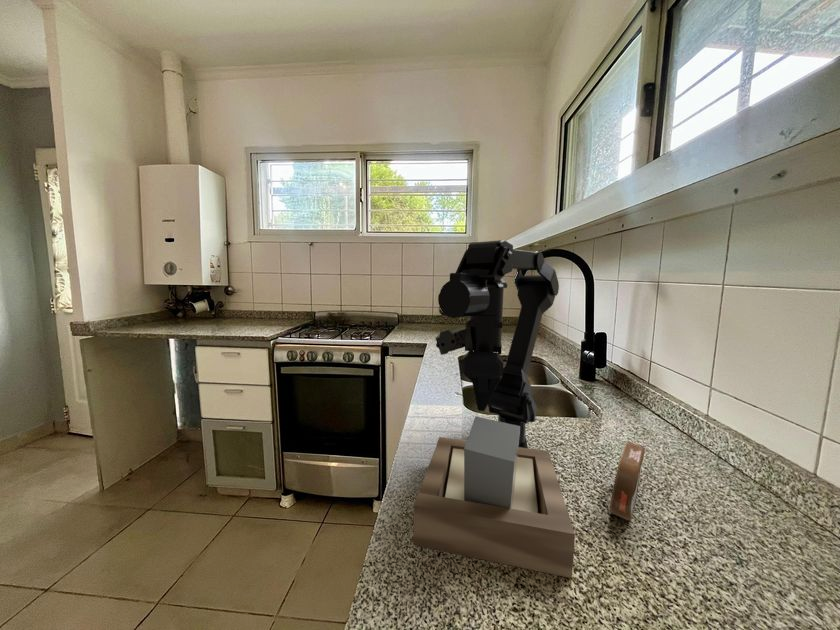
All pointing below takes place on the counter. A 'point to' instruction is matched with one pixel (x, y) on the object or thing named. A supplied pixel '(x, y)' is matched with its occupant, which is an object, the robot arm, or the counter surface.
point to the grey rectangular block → (491, 462)
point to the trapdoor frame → (496, 519)
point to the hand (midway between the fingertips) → (482, 400)
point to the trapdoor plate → (523, 482)
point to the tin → (627, 481)
